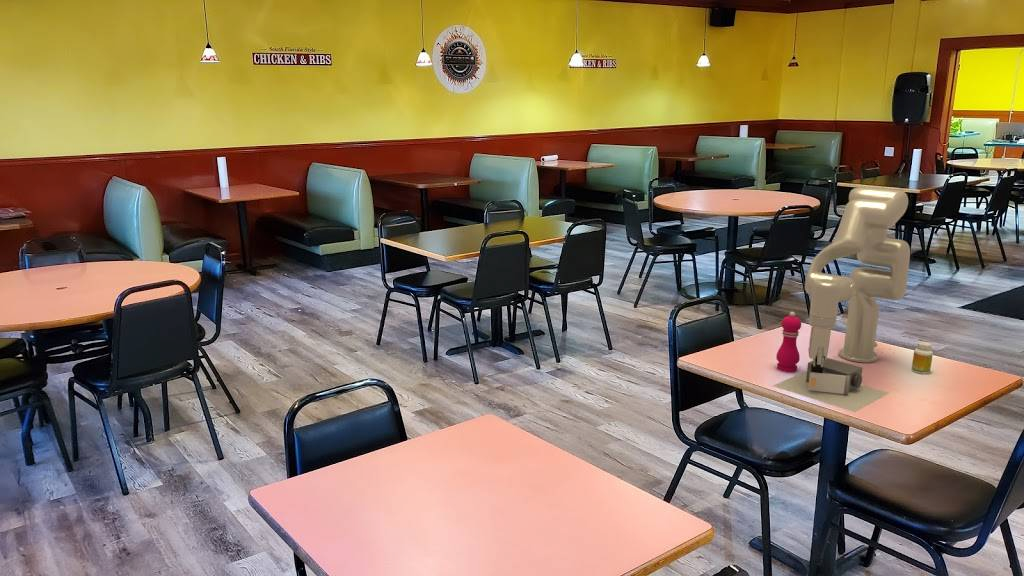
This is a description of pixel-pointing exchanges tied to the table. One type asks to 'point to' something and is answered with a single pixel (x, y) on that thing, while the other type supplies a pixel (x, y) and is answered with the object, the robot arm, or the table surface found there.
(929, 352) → the supplement bottle
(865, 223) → the robot arm
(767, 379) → the table surface
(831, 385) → the side door
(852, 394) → the mat
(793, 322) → the pepper mill
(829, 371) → the camera body
